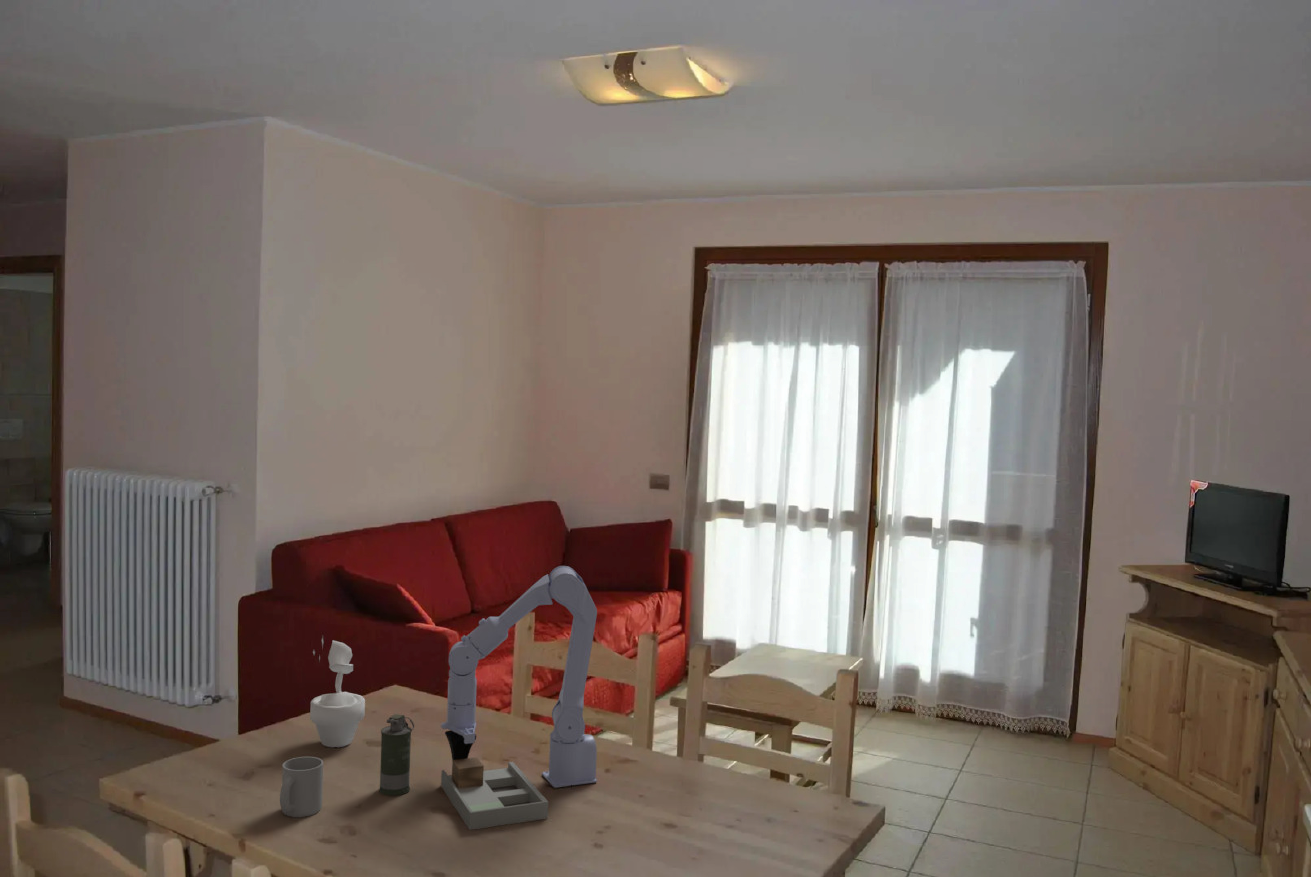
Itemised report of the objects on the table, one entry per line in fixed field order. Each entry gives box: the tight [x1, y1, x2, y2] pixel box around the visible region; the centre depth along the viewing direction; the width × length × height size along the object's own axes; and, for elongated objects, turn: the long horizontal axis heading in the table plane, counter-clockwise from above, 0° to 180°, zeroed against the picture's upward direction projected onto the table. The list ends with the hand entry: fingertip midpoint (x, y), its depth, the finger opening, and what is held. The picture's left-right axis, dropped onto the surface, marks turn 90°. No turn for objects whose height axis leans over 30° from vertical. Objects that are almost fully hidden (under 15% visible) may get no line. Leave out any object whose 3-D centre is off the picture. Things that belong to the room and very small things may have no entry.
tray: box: [440, 761, 549, 831], centre depth 200 cm, size 15×22×3 cm
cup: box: [279, 756, 324, 818], centre depth 191 cm, size 7×10×9 cm
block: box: [451, 756, 485, 789], centre depth 204 cm, size 5×5×4 cm
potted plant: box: [309, 636, 366, 748], centre depth 227 cm, size 13×12×25 cm
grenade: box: [378, 713, 415, 797], centre depth 203 cm, size 6×6×15 cm
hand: (459, 766), depth 209 cm, fingers closed
